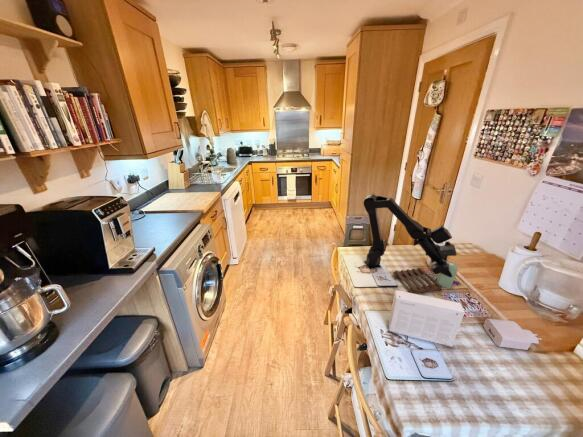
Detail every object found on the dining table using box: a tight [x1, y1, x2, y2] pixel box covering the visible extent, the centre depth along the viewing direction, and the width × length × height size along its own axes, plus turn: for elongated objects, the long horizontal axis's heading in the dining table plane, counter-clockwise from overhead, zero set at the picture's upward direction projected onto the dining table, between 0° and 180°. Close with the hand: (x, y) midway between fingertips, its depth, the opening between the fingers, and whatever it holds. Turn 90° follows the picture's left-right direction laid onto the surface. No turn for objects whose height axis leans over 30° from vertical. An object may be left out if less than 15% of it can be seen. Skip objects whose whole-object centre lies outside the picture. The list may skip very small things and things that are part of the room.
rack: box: [392, 267, 443, 295], centre depth 111 cm, size 16×14×3 cm
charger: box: [483, 318, 543, 351], centre depth 83 cm, size 5×9×15 cm
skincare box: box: [388, 289, 466, 348], centre depth 83 cm, size 21×5×16 cm, turn 71°
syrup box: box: [425, 241, 446, 269], centre depth 122 cm, size 6×6×14 cm
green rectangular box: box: [436, 260, 458, 289], centre depth 109 cm, size 6×6×12 cm
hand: (450, 273), depth 108 cm, fingers closed on green rectangular box, 5 cm apart
